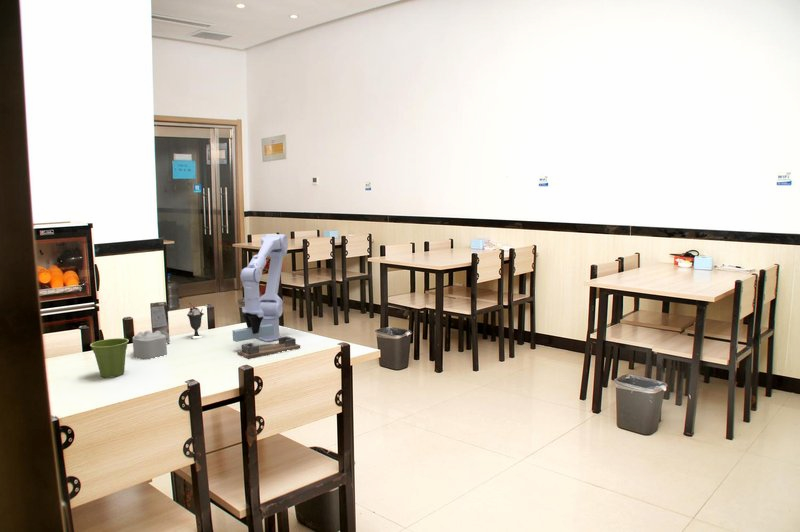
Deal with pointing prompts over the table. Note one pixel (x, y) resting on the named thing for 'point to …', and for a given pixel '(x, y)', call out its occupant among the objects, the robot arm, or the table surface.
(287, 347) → the board
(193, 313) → the sundae
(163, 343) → the lumpy-topped squat cylinder
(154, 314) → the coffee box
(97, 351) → the plant pot
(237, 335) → the slat
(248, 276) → the robot arm
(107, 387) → the table surface
